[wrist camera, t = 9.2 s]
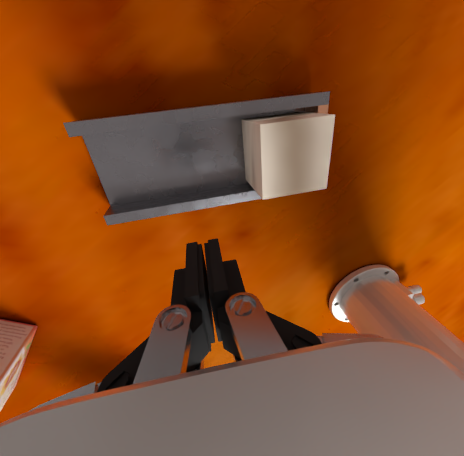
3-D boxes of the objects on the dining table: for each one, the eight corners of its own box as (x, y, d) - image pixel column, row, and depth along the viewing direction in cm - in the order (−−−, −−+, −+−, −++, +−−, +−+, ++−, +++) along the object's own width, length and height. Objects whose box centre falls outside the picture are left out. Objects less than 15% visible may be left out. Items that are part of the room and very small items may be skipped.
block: (299, 111, 22) (335, 114, 17) (297, 171, 26) (326, 188, 20) (241, 119, 22) (260, 124, 17) (245, 179, 25) (262, 199, 20)
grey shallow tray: (311, 92, 23) (329, 91, 20) (305, 179, 27) (320, 188, 24) (79, 120, 20) (63, 123, 17) (115, 211, 25) (107, 225, 22)
